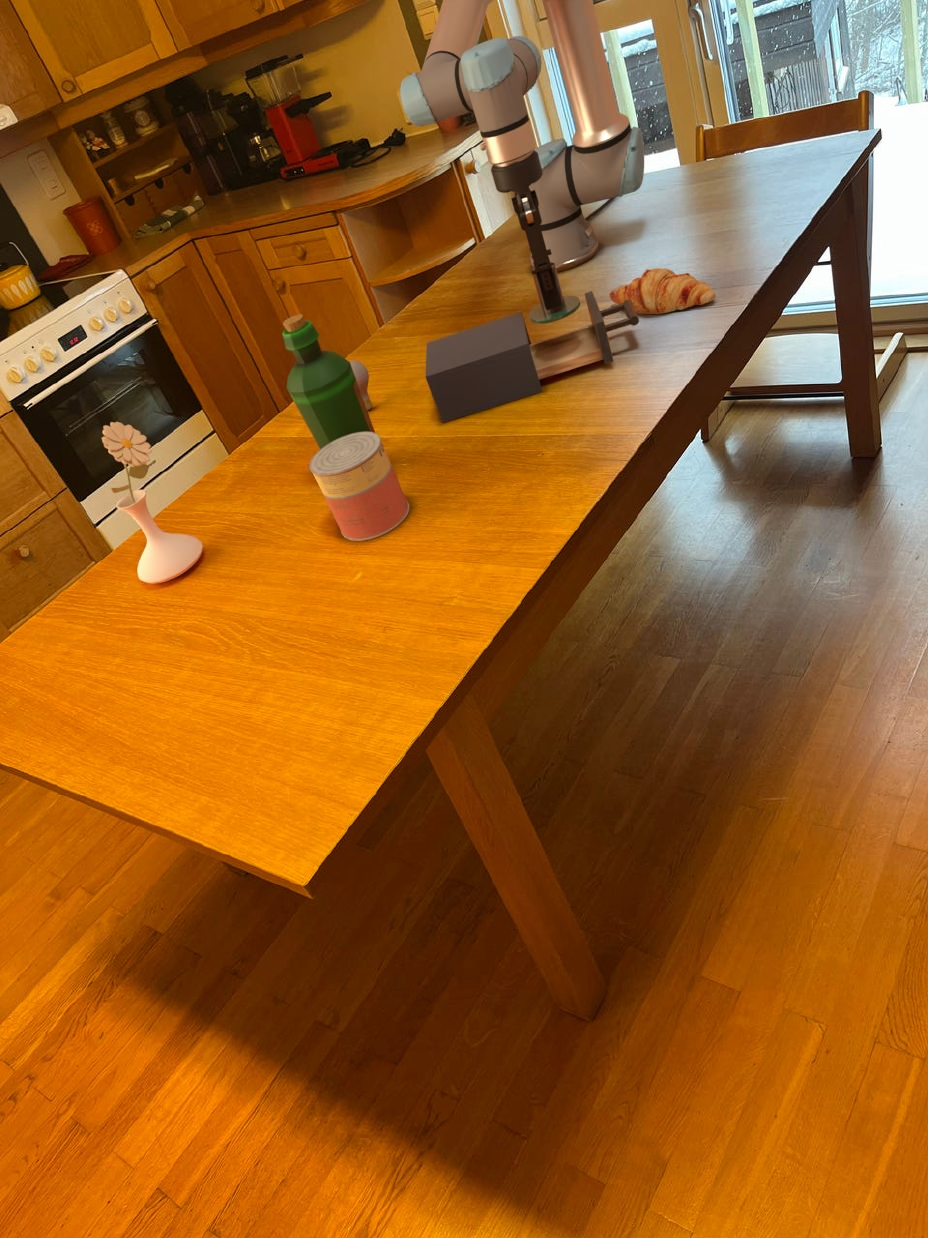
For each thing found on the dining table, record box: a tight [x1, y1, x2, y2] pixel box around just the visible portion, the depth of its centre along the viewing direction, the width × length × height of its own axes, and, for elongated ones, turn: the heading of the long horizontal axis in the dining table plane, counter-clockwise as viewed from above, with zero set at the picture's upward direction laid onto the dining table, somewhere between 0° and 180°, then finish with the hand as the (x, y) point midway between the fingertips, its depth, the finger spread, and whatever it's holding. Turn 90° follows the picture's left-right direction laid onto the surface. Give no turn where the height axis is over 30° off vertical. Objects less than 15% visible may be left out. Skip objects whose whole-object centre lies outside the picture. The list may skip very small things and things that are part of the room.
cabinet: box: [425, 311, 543, 424], centre depth 158 cm, size 18×15×9 cm
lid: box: [528, 262, 581, 325], centre depth 150 cm, size 9×9×8 cm
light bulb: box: [348, 360, 373, 412], centre depth 169 cm, size 6×6×10 cm
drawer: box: [529, 290, 640, 381], centre depth 155 cm, size 24×15×7 cm, turn 90°
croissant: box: [609, 267, 716, 315], centre depth 163 cm, size 21×10×8 cm, turn 52°
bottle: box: [282, 313, 376, 450], centre depth 143 cm, size 11×11×28 cm
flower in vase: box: [101, 421, 204, 585], centre depth 141 cm, size 13×11×25 cm
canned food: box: [308, 432, 410, 542], centre depth 135 cm, size 11×11×12 cm
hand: (552, 301), depth 152 cm, fingers closed on lid, 4 cm apart
